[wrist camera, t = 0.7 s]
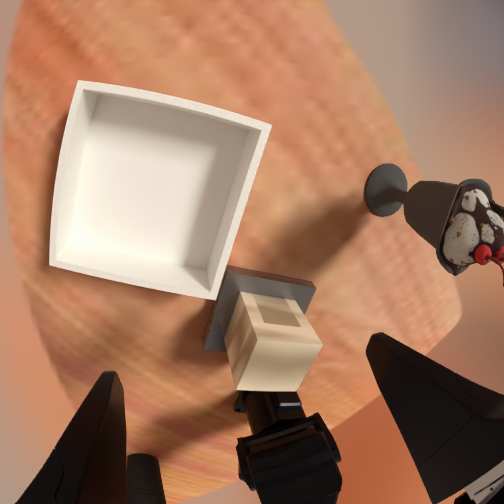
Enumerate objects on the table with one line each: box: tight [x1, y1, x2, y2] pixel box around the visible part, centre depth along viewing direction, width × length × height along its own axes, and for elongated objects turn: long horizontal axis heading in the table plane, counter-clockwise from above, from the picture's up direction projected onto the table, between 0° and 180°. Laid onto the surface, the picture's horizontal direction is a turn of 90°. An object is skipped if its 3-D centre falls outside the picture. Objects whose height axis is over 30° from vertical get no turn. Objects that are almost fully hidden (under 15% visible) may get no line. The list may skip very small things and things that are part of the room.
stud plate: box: [203, 265, 316, 352], centre depth 24 cm, size 8×8×5 cm
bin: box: [49, 80, 272, 300], centre depth 18 cm, size 12×12×4 cm
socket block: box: [224, 292, 323, 391], centre depth 22 cm, size 5×5×6 cm
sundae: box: [365, 164, 504, 286], centre depth 17 cm, size 7×7×15 cm
